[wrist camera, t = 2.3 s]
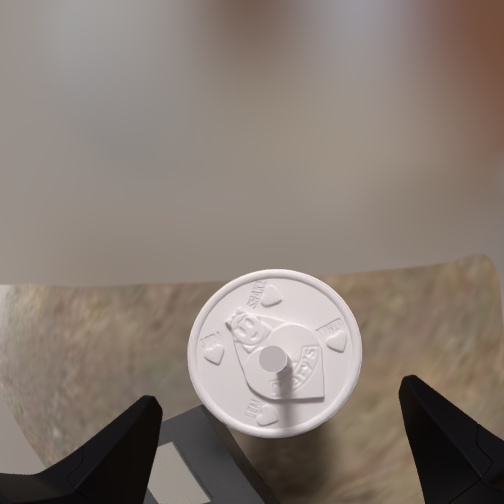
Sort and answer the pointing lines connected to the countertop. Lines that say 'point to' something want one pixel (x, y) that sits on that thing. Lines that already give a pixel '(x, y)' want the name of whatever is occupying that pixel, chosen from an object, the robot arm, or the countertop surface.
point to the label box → (202, 465)
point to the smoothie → (274, 353)
